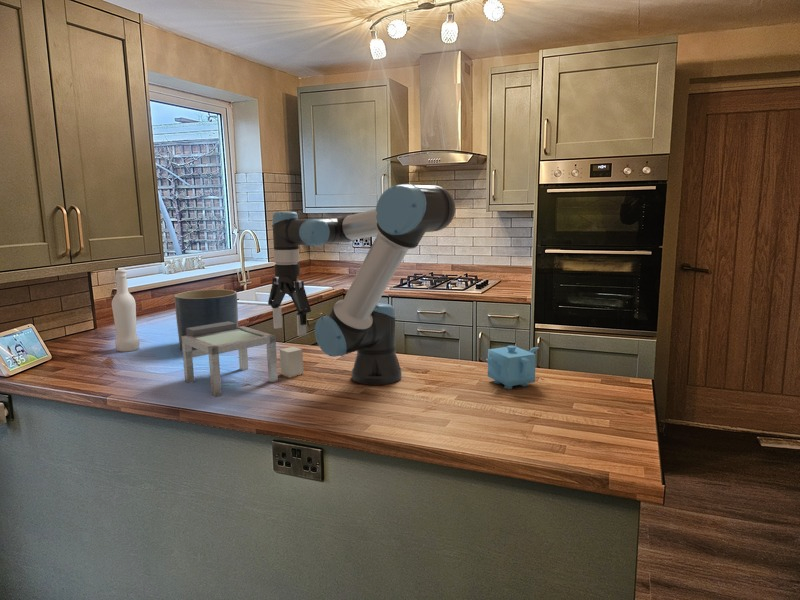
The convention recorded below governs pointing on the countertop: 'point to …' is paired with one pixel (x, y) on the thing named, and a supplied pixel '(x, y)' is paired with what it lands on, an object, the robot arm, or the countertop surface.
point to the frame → (215, 350)
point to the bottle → (124, 315)
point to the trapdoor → (219, 333)
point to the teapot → (511, 366)
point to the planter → (204, 309)
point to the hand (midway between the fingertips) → (289, 331)
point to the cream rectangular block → (291, 361)
